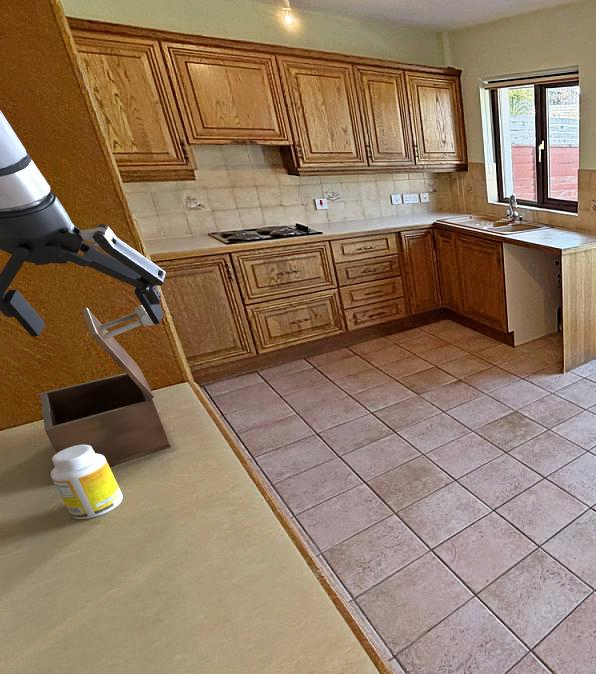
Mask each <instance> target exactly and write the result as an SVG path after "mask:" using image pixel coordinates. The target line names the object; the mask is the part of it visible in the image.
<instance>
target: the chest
mask: <svg viewBox="0 0 596 674" xmlns="http://www.w3.org/2000/svg"><path fill="white" fill-rule="evenodd" d="M39 397H40V403H41V411H42V418H43V419H42V420H43V425H44V426H43V427H44V431H45V434H46V436H47V438H48V440H49V441H50V444H51V445H52V448H53V450H54V452H55V454H57V453H58V452H60V451H62V450H64V449H67V448H69V447H73V446H77V445H89V446H91V447H92V449H93V451H94V452H95V454H101V455H103V456H104V457H105V459H106V461H107V463H108V465H109V467H110V468H113V467H116V466H119V465H122V464H124V463H127V462H130V461H134V460H137V459H140V458H142V457H146V456H149V455H151V454H154V453H158V452H161V451H164V450H167V449H170V448H172V447H171V446H172V445H171V443H170V441H169V439H168V436H167V433H166V430H165V427H164V425H163V422H162V420H161V418H160V414H159V412H158V409H157V407H156V403H155V402H154V398H152V399H149V398H148V397H147V396H146V395H145V394H144V393H143V391H142V390H141V389H140V388H139V387H138V386H137V385H136V384H135V383H134V382H133V380H132V379H131V378H130V377H129V376H128V375H127V374H126V373H125V372H124V373H119V374H115V375H112V376H107V377H103V378H98V379H94V380H90V381H86V382H85V381H84V382H82V383H77V384H72V385H68V386H65V387H61V388H55V389H52V390H48V391H47V390H46V391H43V392H40V394H39Z"/></svg>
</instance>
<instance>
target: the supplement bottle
mask: <svg viewBox="0 0 596 674" xmlns="http://www.w3.org/2000/svg"><path fill="white" fill-rule="evenodd" d="M51 461H52V463H53V466H54V468H53V469H52V470H51V472H50V479H51V480H52V482H53V483H54V486H55V487H56V489H57V491H58V493H59V495H60V496H61V499H62V500H63V502H64V504H65V506H66V508H67V510H68V511H69V514H70V515H71V517H73V518H74V519H76V520H88V519H94V518H97V517H100V516H102V515H105V514H107V513H109V512H111V511H112V510H114V509H115V508H116V507H118V506H119V505H120V504H121V502H123V493H122V490H121V489H120V487H119V485H118V482H117V480H116V478H115V476H114V473H113V472H112V468H111V467H109V465H108V463H107V461H106V459H105V457H104V456H103V455H101V454H95V452H94V451H93V449H92V447H91V446H89V445H77V446H73V447H69V448H67V449H64V450H62V451H60V452H58V453H55V454H54V455H53V456H52V458H51Z"/></svg>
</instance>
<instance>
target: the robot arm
mask: <svg viewBox="0 0 596 674" xmlns="http://www.w3.org/2000/svg"><path fill="white" fill-rule="evenodd" d="M86 241H88V242H91V243H92V244H90V243H88V242H86ZM99 247H100V248H101V249H102V250H103V251H104V252H101V251H99V250H98V248H99ZM0 251H2V252H4V253H7V254H9V255H10V257H9V259H8V260H7V262H6V264H5V265H4V267H3V269H2V270H1V272H0V313H2V315H4V316H5V317H7V318H14V319H15V320H17V322H18V323H19V324H20V325H21V327H22V328H24V329H25V331H26V333H28V334H29V336H31V337H32V338H34V337H40V336H41V333H42V331H43V329H44V327H45V325H46V321H44V320H43V319H42V317H41V316H40V315H39V314H38V313H37V311H35V309H34V308H33V307H32V306H31V305H30V303H29V302H28V301H27V299H26V298H25V297H24V296H23V295H22V293H21V292H20V291H19V290H18V289H16V288H15V289H9V290H8V288H9V287H10V285H11V284H12V282H13V280H14V279H15V277H16V276H17V275H18V273H19V271H20V270H21V268H22V266H23V265H24V263H25V262H27V263H30V264H34V265H35V266H45V265H49V264H57V265H64V264H69V263H70V262H71V263H72V264H75V265H78V266H80V267H83V268H85V267H88V268H90V269H93V270H94V271H97V272H100V273H101V274H105V275H106V276H109V277H111V278H113V279H116V280H118V281H120V282H122V283H125V284H127V285H129V286H132V287H134V288H135V289H134V294H135V296H136V298H137V300H138V301H139V303H140V305H142V306H143V307H144V309H145V311H146V312H147V314H148V315H149V317H150V319H151V320H152V322H153V323H154V324H155V325H161V322H162V320H163V319H162V318H163V315H164V311H163V310H162V307H161V306H160V304H161V300H162V294H161V292H160V291H159V289H158V287H160V286H163V285H164V283H165V278H166V274H167V273H166V270H165V269H163V268H161V267H160V266H159V265H158V264H156V263H154V262H153V261H151V260H150V259H149V258H147V257H146V256H144V255H143V254H141V253H140V252H138V250H137V249H134V248H133V247H131V246H130V245H128V244H127V243H126V242H125V241H123V240H121V239H120V238H119V237H117V235H116V234H115V232H114V231H113V230H112V229H111V228H110V226H108V225H107V224H104V223H99V224H97V226H96V228H89V229H80V228H79V227H77V226H76V225H75V224H74V223H73V222H72V220H71V218H70V216H69V214H68V212H67V211H66V209H65V208H64V206H63V205H62V203H61V201H60V200H59V199H58V197H57V195H56V194H55V193H54V192H53V191H51V186H50V184H49V183H48V181H47V180H46V178H45V177H44V176H43V174H42V173H41V171H40V169H39V168H38V167H37V165H36V164H35V163H34V161H33V160H32V157H31V156H30V155H29V153H28V151H27V149H26V148H25V146H24V145H23V143H22V142H21V140H20V139H19V137H18V135H17V134H16V132H15V131H14V129H13V128H12V126H11V124H10V123H9V122H8V120H7V118H6V117H5V115H4V114H3V112H2V110H0ZM79 251H81V253H82V255H81V254H80V253H79ZM78 253H79V254H78ZM157 286H158V287H157ZM7 290H8V291H7Z"/></svg>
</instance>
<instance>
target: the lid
mask: <svg viewBox="0 0 596 674" xmlns="http://www.w3.org/2000/svg"><path fill="white" fill-rule="evenodd" d="M82 313H83V315H84V319H85V321H86V323H87V326H88V329H89V331H90V334H91V336H92V338H93V339H94V340H95V341H96V342H97V344H98V345H100V346H101V348H102V349H103V350H104V351H105V352H106V354H108V356H109V357H111V358H112V360H113V361H114V362H115V363H116V364H117V365H118V366H119V367H120V369H122V371H123V372H124V373H126V374H127V375H128V376H129V377H130V378H131V379H132V380H133V382H134V383H135V384H136V385H137V386H138V387H139V388H140V389H141V390H142V391H143V393H144V394H145V395H146V396H147V397H148V398H149V399H154V398H155V395H154V393H153V391H152V389H151V387H150V385H149V384H148V381H147V379H146V378H145V375H144V373H143V371H142V369H141V368H140V366H139V365H138V364H137V363H136V362H135V360H134V359H133V358H132V357H131V356H130V355H129V353H128V352H127V351H126V350H125V349H124V348H123V347H122V346H121V344H120V343H119V342H118V341H117V339H115V337H114V336H117V335H120V334H123V333H124V332H127V331H130V330H133V329H134V328H137V327H140V326H142V325H144V326H147V327H151V326H155V325H156V324H154V323H153V322H152V320H151V319H150V317H149V315H148V314H147V312H146V311H145V309H144V307H143V306H142V304H140V305H138V306H136V307H135V309H134V311H133V312H131V313H129V314H126V315H124V316H121V317H119V318H116V319H113V320H111V321H108V322H105V323H103V324H102V323H101V321H100V320H98V318H97V317H96V316H95V315H94V314H93V313H92V311H91V310H90V309H89V308H88V307H86V308H83V309H82ZM135 318H138V319H139V320H136V321H134V322H130V323H129V324H126V325H123V326H121V327H119V328H116V329H113V330H111V331H109V330H107V329H109V328H112V327H114V326H117V325H119V324H123V323H125V322H127V321H130V320H133V319H135Z"/></svg>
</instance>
